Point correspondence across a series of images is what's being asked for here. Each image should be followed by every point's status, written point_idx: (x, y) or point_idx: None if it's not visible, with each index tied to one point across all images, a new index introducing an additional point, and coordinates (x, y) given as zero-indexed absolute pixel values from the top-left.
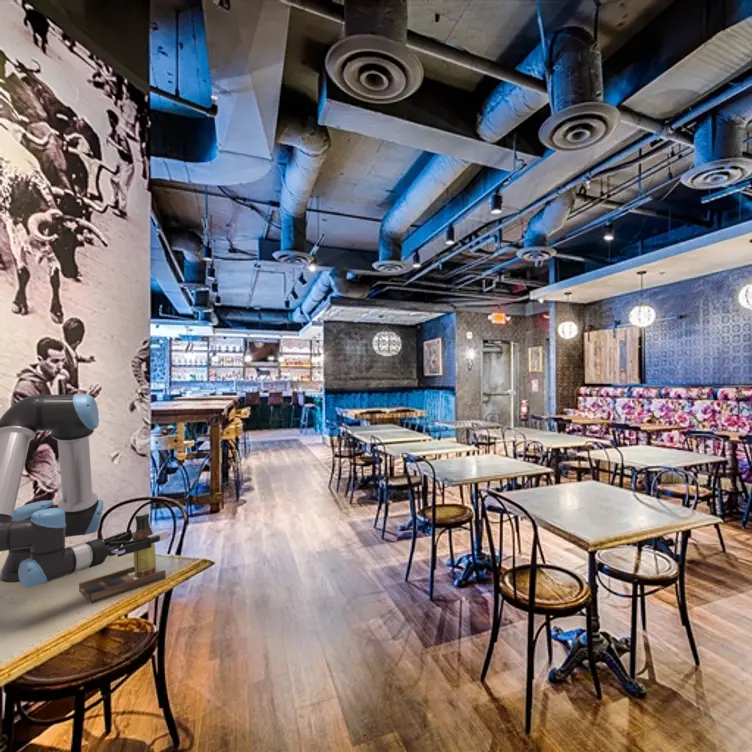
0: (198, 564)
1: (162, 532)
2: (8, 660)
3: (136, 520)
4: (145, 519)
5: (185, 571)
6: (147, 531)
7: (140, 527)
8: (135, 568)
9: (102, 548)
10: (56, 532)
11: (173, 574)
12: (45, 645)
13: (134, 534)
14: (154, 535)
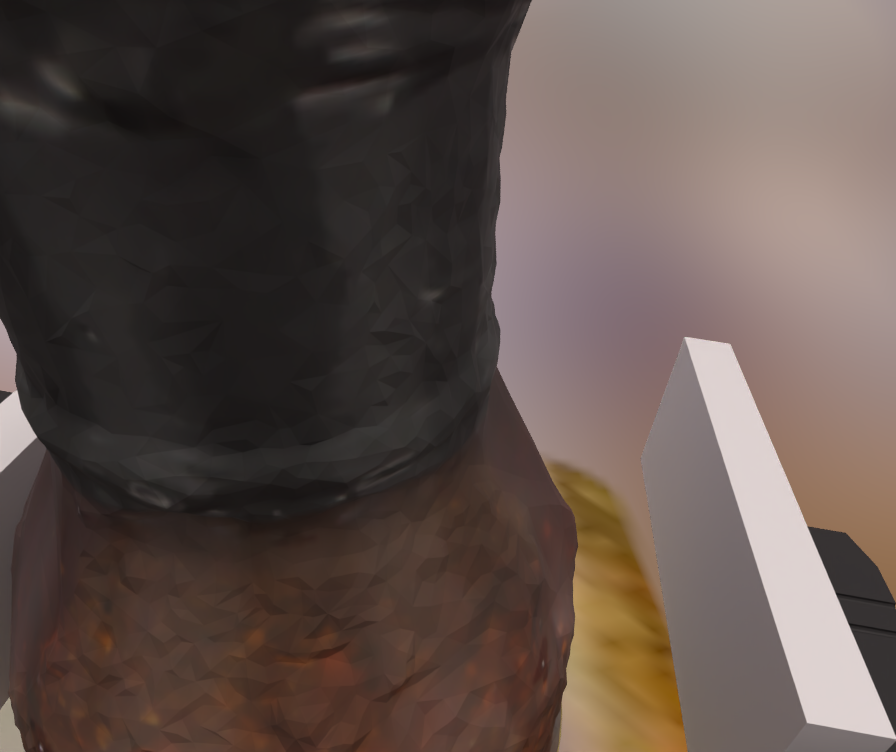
0: (593, 513)
1: (754, 412)
2: None
3: (9, 84)
4: (510, 51)
5: (632, 642)
6: (537, 495)
7: (379, 462)
8: None
9: None
10: None
11: (595, 733)
12: None
13: (103, 733)
14: (822, 580)
